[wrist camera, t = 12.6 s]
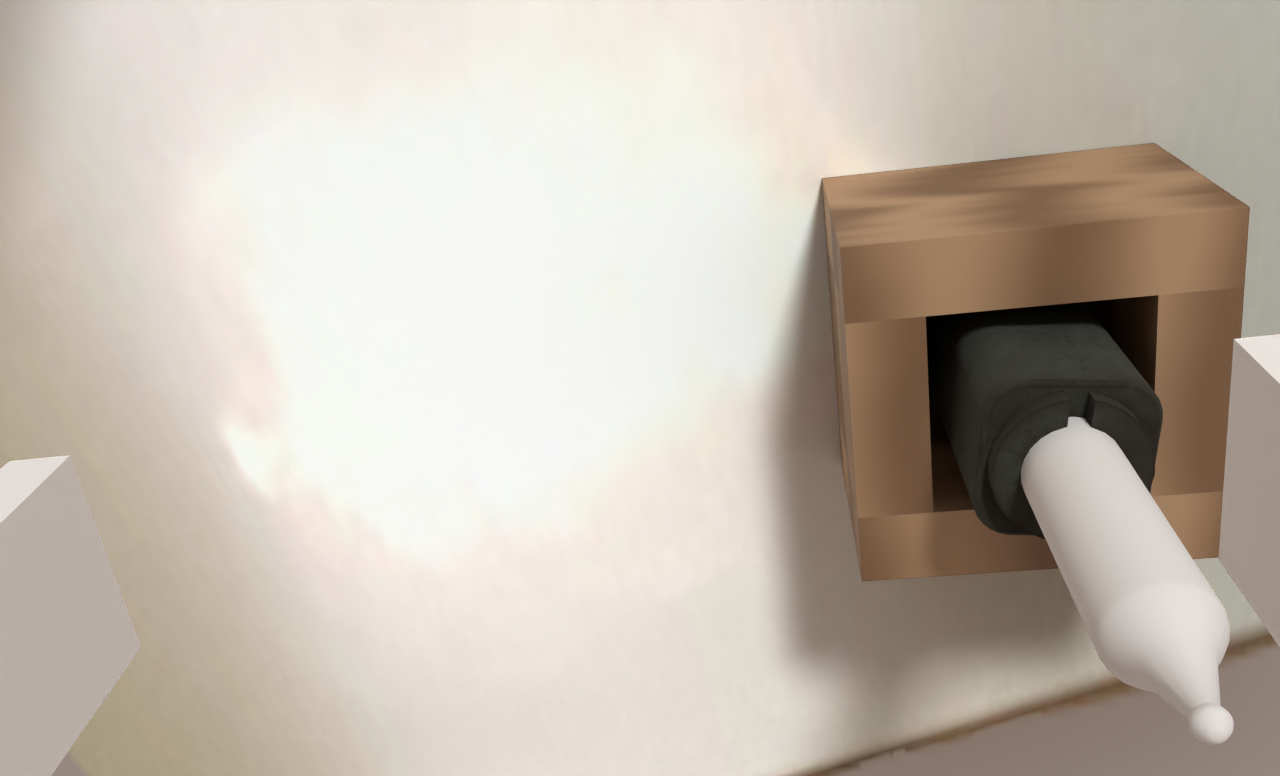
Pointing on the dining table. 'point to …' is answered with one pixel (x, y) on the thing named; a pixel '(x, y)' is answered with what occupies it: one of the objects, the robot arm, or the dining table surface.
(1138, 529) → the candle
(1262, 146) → the dining table surface
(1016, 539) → the well block
